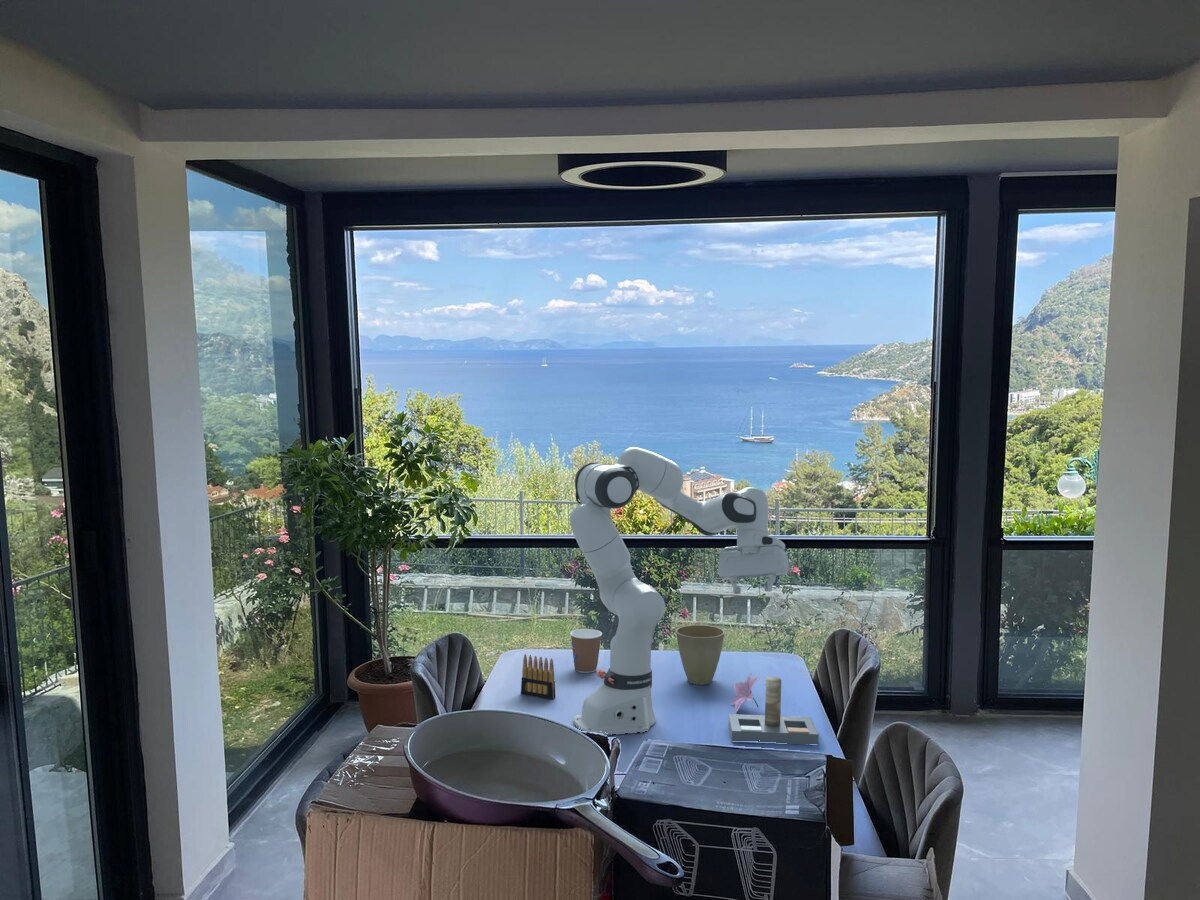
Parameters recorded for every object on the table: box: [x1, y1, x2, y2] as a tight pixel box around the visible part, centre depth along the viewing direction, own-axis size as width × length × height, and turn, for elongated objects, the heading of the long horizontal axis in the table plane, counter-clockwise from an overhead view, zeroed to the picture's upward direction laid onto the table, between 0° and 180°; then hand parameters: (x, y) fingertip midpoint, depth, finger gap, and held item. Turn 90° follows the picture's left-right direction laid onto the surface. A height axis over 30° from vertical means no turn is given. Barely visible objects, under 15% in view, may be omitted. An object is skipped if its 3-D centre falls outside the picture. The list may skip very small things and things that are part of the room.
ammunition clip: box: [520, 653, 556, 701], centre depth 262 cm, size 11×2×12 cm, turn 65°
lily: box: [730, 672, 760, 714], centre depth 254 cm, size 12×12×10 cm
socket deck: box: [728, 713, 820, 746], centre depth 234 cm, size 22×12×3 cm, turn 86°
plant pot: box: [675, 624, 725, 686], centre depth 277 cm, size 15×15×16 cm
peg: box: [764, 676, 782, 727], centre depth 234 cm, size 4×4×12 cm
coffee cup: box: [569, 628, 603, 674], centre depth 287 cm, size 10×10×12 cm
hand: (752, 592), depth 247 cm, fingers open, 8 cm apart
